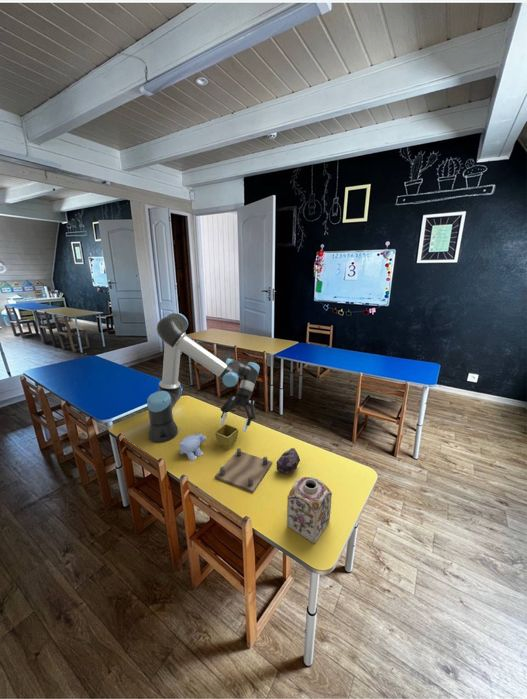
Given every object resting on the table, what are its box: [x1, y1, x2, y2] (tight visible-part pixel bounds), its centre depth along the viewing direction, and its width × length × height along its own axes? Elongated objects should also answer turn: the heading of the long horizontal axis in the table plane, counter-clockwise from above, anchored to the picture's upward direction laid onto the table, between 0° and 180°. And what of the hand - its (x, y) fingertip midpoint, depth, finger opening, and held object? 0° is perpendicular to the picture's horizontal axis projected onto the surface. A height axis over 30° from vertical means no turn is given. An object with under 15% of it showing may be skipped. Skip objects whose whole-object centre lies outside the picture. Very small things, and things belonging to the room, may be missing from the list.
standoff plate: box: [214, 447, 273, 494], centre depth 127 cm, size 19×19×4 cm
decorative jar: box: [286, 476, 333, 544], centre depth 99 cm, size 12×12×18 cm
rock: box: [275, 447, 301, 475], centre depth 127 cm, size 12×9×10 cm
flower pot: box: [214, 423, 239, 450], centre depth 143 cm, size 9×9×9 cm
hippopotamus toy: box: [179, 432, 207, 462], centre depth 139 cm, size 11×15×10 cm
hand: (232, 428), depth 145 cm, fingers open, 13 cm apart
